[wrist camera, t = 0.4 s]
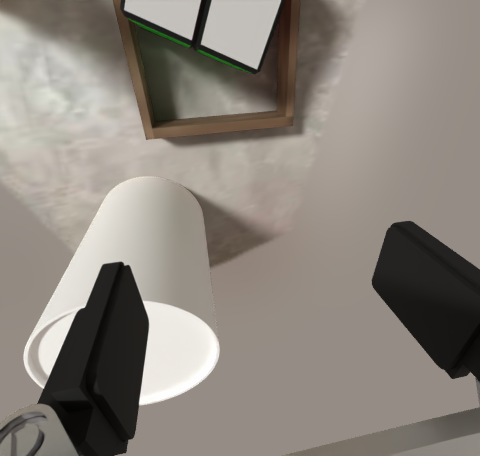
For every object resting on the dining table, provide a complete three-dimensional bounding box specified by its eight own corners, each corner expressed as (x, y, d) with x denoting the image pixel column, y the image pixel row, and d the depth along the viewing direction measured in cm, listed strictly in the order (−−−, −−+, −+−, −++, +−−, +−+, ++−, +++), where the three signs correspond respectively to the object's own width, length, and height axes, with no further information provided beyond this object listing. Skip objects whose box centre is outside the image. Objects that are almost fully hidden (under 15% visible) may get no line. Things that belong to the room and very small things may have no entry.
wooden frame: (88, -137, 19) (71, -170, 17) (293, -132, 21) (310, -161, 18) (149, 131, 30) (146, 139, 27) (282, 119, 32) (292, 125, 29)
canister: (111, 263, 39) (59, 418, 23) (88, 177, 32) (-15, 311, 15) (204, 257, 41) (218, 393, 25) (203, 175, 34) (220, 290, 18)
